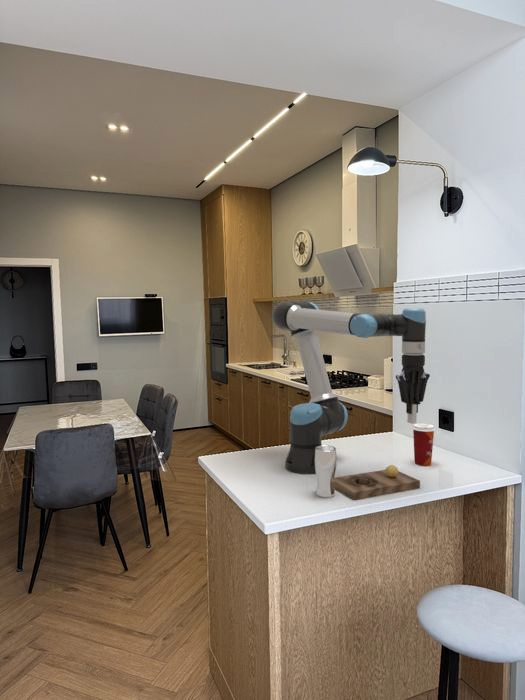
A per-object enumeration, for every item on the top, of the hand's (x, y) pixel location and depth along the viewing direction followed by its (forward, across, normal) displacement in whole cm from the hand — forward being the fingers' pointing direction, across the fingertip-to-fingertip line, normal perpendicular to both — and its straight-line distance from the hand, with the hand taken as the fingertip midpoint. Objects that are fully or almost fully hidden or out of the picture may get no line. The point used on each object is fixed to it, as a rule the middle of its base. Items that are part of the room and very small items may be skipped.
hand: (411, 422), depth 168 cm
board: (+20, -15, 0) cm, 25 cm away
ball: (+16, -8, 0) cm, 18 cm away
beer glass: (+21, -33, +1) cm, 39 cm away
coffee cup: (+21, +17, +13) cm, 30 cm away
